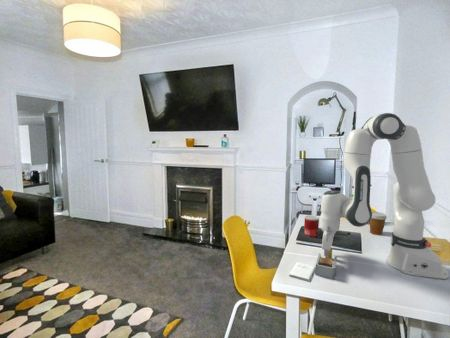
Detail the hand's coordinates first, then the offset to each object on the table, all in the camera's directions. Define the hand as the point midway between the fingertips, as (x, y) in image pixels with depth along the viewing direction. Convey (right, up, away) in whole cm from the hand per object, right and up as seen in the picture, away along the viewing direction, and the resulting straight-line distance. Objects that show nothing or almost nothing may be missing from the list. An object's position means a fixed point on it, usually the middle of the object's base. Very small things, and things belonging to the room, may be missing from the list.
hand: (327, 251), depth 126 cm
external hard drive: (-16, -6, -12) cm, 21 cm away
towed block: (-3, -4, -6) cm, 8 cm away
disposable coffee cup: (+42, +1, +33) cm, 53 cm away
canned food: (+2, 0, +29) cm, 29 cm away
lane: (-5, -5, -11) cm, 13 cm away
